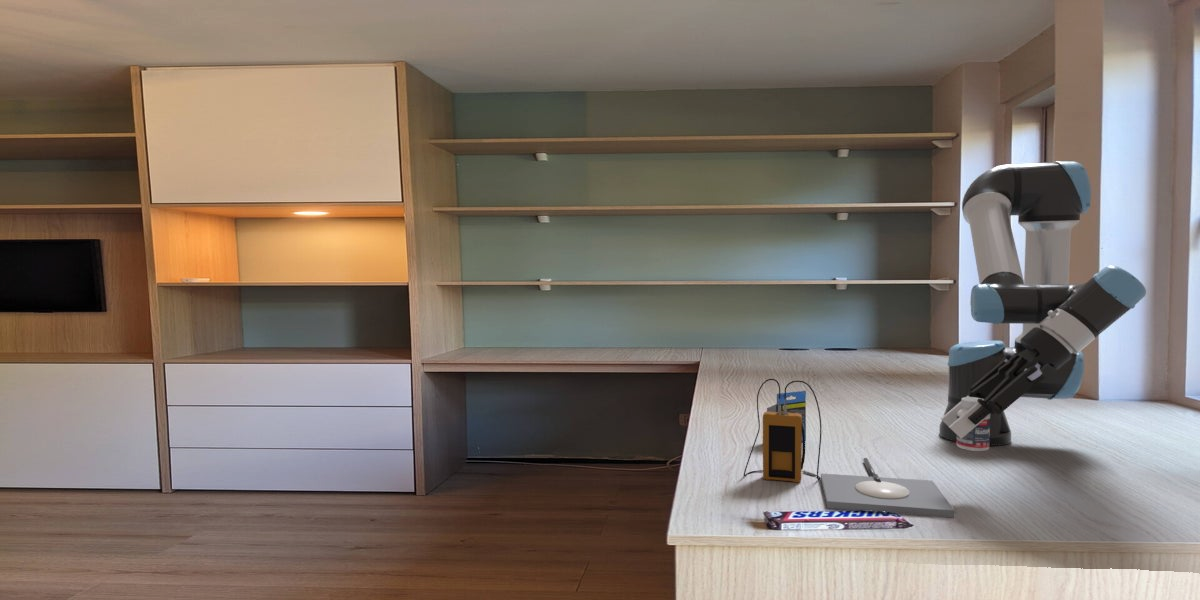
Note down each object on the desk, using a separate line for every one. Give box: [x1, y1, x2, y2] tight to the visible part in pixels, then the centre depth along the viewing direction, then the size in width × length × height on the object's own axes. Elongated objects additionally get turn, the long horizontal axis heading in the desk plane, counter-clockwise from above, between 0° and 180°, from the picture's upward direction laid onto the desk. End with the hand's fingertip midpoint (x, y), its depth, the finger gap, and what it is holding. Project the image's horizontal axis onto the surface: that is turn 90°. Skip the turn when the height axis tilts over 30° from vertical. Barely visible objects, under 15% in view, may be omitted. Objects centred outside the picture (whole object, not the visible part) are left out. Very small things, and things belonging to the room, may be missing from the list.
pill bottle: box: [955, 397, 990, 452], centre depth 121 cm, size 5×5×9 cm
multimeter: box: [743, 378, 822, 483], centre depth 134 cm, size 15×10×20 cm
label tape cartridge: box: [766, 390, 807, 443], centre depth 159 cm, size 9×4×12 cm, turn 114°
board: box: [820, 457, 956, 519], centre depth 128 cm, size 30×20×2 cm, turn 166°
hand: (950, 428), depth 122 cm, fingers closed on pill bottle, 5 cm apart
